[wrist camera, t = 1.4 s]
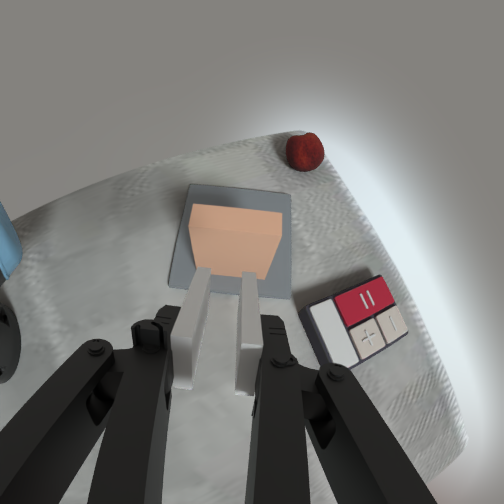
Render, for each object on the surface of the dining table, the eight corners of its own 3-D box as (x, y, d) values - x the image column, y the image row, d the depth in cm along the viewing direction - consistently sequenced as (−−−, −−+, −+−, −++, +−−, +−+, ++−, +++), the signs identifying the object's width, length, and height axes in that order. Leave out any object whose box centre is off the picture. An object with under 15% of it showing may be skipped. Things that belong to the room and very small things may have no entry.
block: (197, 272, 41) (188, 226, 29) (200, 254, 42) (193, 203, 30) (264, 279, 41) (281, 236, 30) (265, 260, 43) (282, 212, 31)
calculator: (412, 331, 37) (338, 377, 33) (397, 337, 41) (325, 379, 36) (383, 271, 41) (306, 304, 37) (370, 281, 45) (296, 312, 41)
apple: (310, 152, 56) (320, 124, 49) (324, 179, 53) (337, 151, 46) (278, 153, 55) (285, 124, 48) (289, 182, 51) (299, 151, 44)
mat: (169, 287, 40) (168, 285, 39) (190, 186, 49) (190, 184, 48) (289, 299, 41) (290, 297, 40) (289, 197, 50) (290, 194, 49)
